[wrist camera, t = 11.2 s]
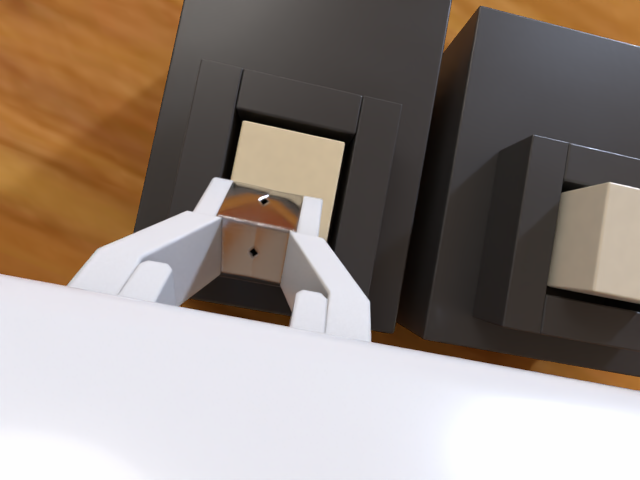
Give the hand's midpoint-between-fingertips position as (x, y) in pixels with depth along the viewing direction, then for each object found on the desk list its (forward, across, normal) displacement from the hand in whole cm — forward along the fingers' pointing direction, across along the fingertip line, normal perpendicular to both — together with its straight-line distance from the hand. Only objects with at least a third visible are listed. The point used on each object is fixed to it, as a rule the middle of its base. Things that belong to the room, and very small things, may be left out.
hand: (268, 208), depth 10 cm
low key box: (+7, -10, +3) cm, 13 cm away
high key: (+2, 0, +1) cm, 2 cm away
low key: (+1, -10, 0) cm, 10 cm away
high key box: (+7, 0, +3) cm, 8 cm away
